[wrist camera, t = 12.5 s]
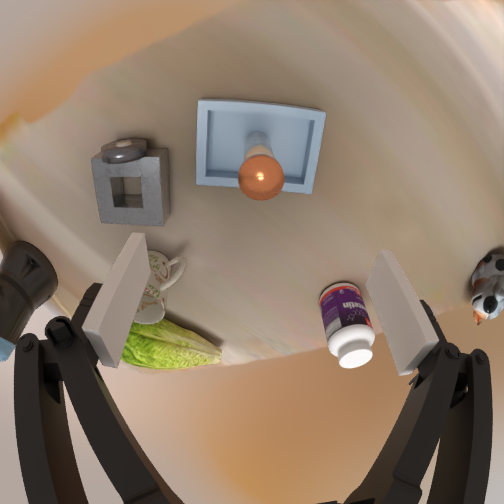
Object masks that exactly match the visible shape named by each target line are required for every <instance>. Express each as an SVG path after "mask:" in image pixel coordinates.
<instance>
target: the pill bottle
mask: <svg viewBox="0 0 504 504" xmlns="http://www.w3.org/2000/svg"><path fill="white" fill-rule="evenodd" d="M319 305H320V310H321V314H322V319H323V323H324V328H325V333H326V338H327V343H328V348H329V350H330V352H331V353H332V354H333V355H335V356H337V357H338V360H339V364H340V365H341V366H342V367H344V368H355V367H358V366H361V365H363V364H365V363H367V362H368V361H369V360H370V359H371V358H372V350H371V345H372V344H373V342H374V337H375V335H374V331H373V328H372V325H371V322H370V319H369V316H368V313H367V311H366V308H365V305H364V302H363V299H362V297H361V294H360V291H359V290H358V288H357V287H356V286H354V285H352V284H349V283H338V284H335V285H332V286H330V287H329V288H327V289H326V290H325V291H324V292H323V294H322V295H321V297H320V300H319Z"/></svg>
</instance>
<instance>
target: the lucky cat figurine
mask: <svg viewBox="0 0 504 504" xmlns="http://www.w3.org/2000/svg"><path fill="white" fill-rule="evenodd" d="M472 285H473V293H472V298H471V303H472V306H473V310H474V315H473V316H474V318H475V320H476V322H477V325H479V324H480V323H481V322H482V320H488V319H493V318H495V317H496V316H498V315H499V313H500V311H501V310H502V309H503V308H504V255H503V254H493V255H490V257H489V258H488V259H483V260H481V261H480V263H479V265H478V267H477V268H476V270H475V272H474V273H473V275H472Z"/></svg>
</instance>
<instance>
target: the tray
mask: <svg viewBox="0 0 504 504" xmlns="http://www.w3.org/2000/svg"><path fill="white" fill-rule="evenodd" d="M325 116H326V113H325V112H324V111H322V110H320V109H314V108H308V107H302V106H295V105H288V104H279V103H271V102H261V101H249V100H235V99H213V98H202V99H200V100H198V117H197V150H196V185H210V186H227V187H239V183H238V174H239V169H240V166H241V164H242V163H243V162H244V151H245V140H246V137H247V136H248V135H249V134H250V133H252V132H255V131H260V132H263V133H265V134H266V135H267V136H268V137H269V140H270V143H271V146H272V150H273V153H274V157H275V159H276V160H277V161H278V162H279V163H280V165H281V166H282V169H283V172H284V177H285V181H284V185H283V188H282V190H281V191H287V192H296V193H306V194H311V193H312V188H313V183H314V178H315V173H316V167H317V162H318V157H319V151H320V145H321V140H322V134H323V128H324V122H325Z"/></svg>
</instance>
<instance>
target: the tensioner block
mask: <svg viewBox="0 0 504 504" xmlns="http://www.w3.org/2000/svg"><path fill="white" fill-rule="evenodd" d="M91 164H92V172H93V179H94V186H95V192H96V198H97V204H98V209H99V215H100V220H101V223H110V224H130V225H149V226H164V224H165V222H166V220H167V218H168V216H169V214H170V198H169V175H168V148H147V142H146V140H143V139H124V140H118V141H114V142H111V143H108V144H106V145H104V146H103V147H102V148H101V152H100V153H99V154H97V155H96V156H94V157H93V158H91ZM122 177H141V187H142V195H124V188H123V179H122Z"/></svg>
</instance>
